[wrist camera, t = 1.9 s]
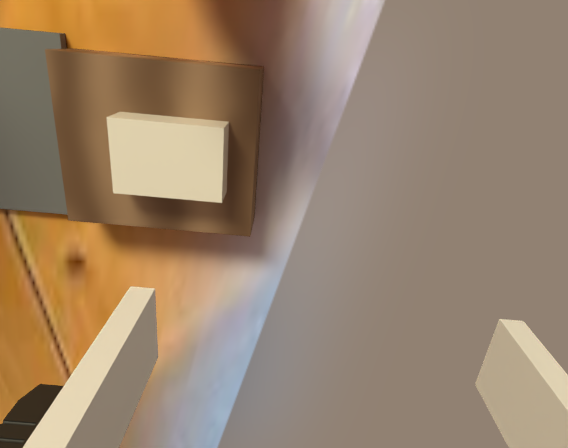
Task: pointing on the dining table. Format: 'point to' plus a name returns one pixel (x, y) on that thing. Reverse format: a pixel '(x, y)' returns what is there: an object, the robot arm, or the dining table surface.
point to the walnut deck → (155, 101)
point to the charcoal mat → (28, 124)
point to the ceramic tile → (168, 156)
